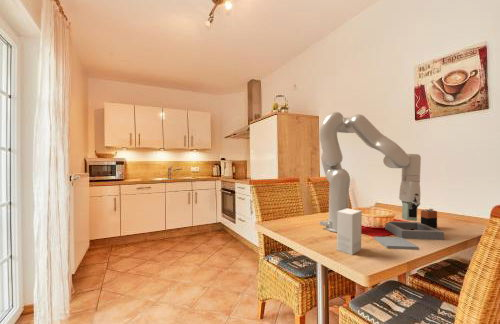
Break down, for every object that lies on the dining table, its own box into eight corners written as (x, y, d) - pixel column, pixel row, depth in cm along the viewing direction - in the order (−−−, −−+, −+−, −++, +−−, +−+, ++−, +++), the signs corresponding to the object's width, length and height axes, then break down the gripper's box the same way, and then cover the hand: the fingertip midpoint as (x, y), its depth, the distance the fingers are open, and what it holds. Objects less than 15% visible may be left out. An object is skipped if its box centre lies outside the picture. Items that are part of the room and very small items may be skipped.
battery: (437, 228, 125) (437, 209, 125) (428, 229, 123) (428, 210, 123) (429, 226, 129) (429, 208, 129) (420, 227, 127) (420, 208, 127)
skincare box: (346, 245, 97) (346, 208, 97) (362, 250, 92) (362, 210, 92) (336, 250, 91) (336, 210, 91) (352, 255, 86) (353, 213, 86)
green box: (407, 220, 113) (407, 203, 113) (401, 218, 118) (402, 202, 118) (416, 220, 113) (417, 204, 113) (411, 218, 117) (411, 202, 117)
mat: (387, 248, 94) (387, 245, 94) (374, 238, 106) (374, 236, 106) (418, 249, 93) (418, 246, 93) (401, 239, 105) (401, 237, 105)
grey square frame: (401, 238, 107) (401, 230, 107) (382, 227, 125) (382, 221, 125) (443, 239, 105) (443, 232, 105) (418, 228, 123) (418, 222, 123)
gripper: (393, 177, 124) (392, 212, 124) (413, 179, 107) (411, 219, 107) (408, 178, 123) (407, 212, 123) (430, 180, 107) (429, 220, 107)
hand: (409, 215), depth 115 cm, fingers closed on green box, 4 cm apart
